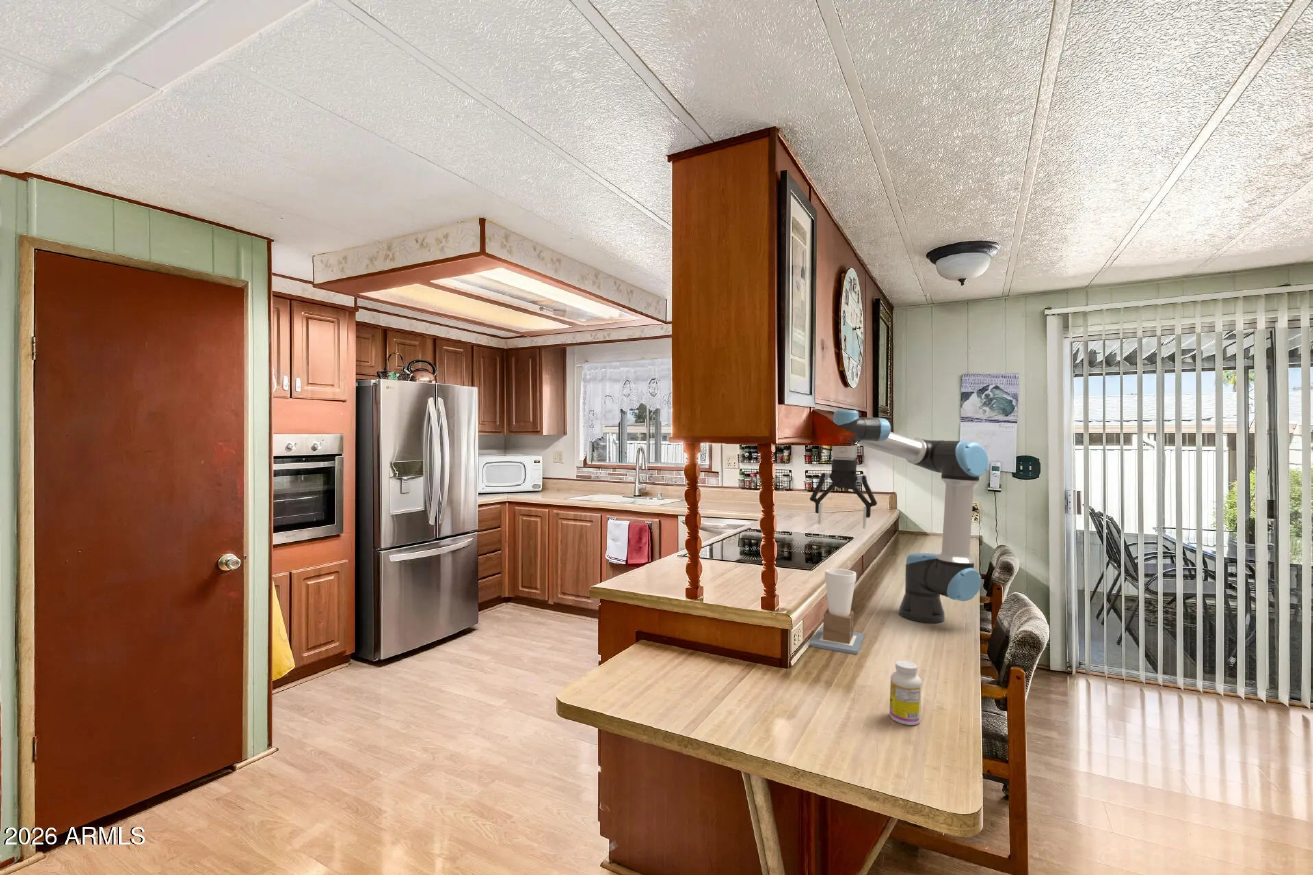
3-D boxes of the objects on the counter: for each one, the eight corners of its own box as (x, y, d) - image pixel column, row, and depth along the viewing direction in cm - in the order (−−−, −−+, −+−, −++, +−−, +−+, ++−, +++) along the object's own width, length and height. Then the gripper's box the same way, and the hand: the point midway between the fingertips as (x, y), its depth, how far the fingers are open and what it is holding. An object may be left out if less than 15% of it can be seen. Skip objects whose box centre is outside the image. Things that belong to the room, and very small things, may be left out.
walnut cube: (827, 631, 194) (828, 607, 194) (852, 636, 191) (853, 611, 191) (822, 639, 187) (823, 614, 187) (849, 643, 183) (850, 618, 183)
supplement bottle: (894, 709, 143) (896, 656, 142) (923, 718, 138) (925, 663, 138) (885, 719, 137) (887, 664, 137) (915, 729, 133) (917, 672, 133)
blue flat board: (820, 629, 200) (820, 625, 200) (864, 636, 194) (864, 633, 194) (810, 646, 184) (810, 642, 184) (857, 654, 178) (857, 650, 178)
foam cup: (817, 609, 191) (819, 569, 191) (839, 607, 195) (841, 567, 195) (838, 618, 182) (839, 576, 182) (861, 615, 186) (862, 574, 186)
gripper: (802, 457, 190) (799, 523, 190) (885, 461, 179) (882, 531, 180) (806, 456, 197) (804, 520, 197) (887, 460, 186) (885, 528, 186)
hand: (841, 525), depth 188 cm, fingers open, 13 cm apart
